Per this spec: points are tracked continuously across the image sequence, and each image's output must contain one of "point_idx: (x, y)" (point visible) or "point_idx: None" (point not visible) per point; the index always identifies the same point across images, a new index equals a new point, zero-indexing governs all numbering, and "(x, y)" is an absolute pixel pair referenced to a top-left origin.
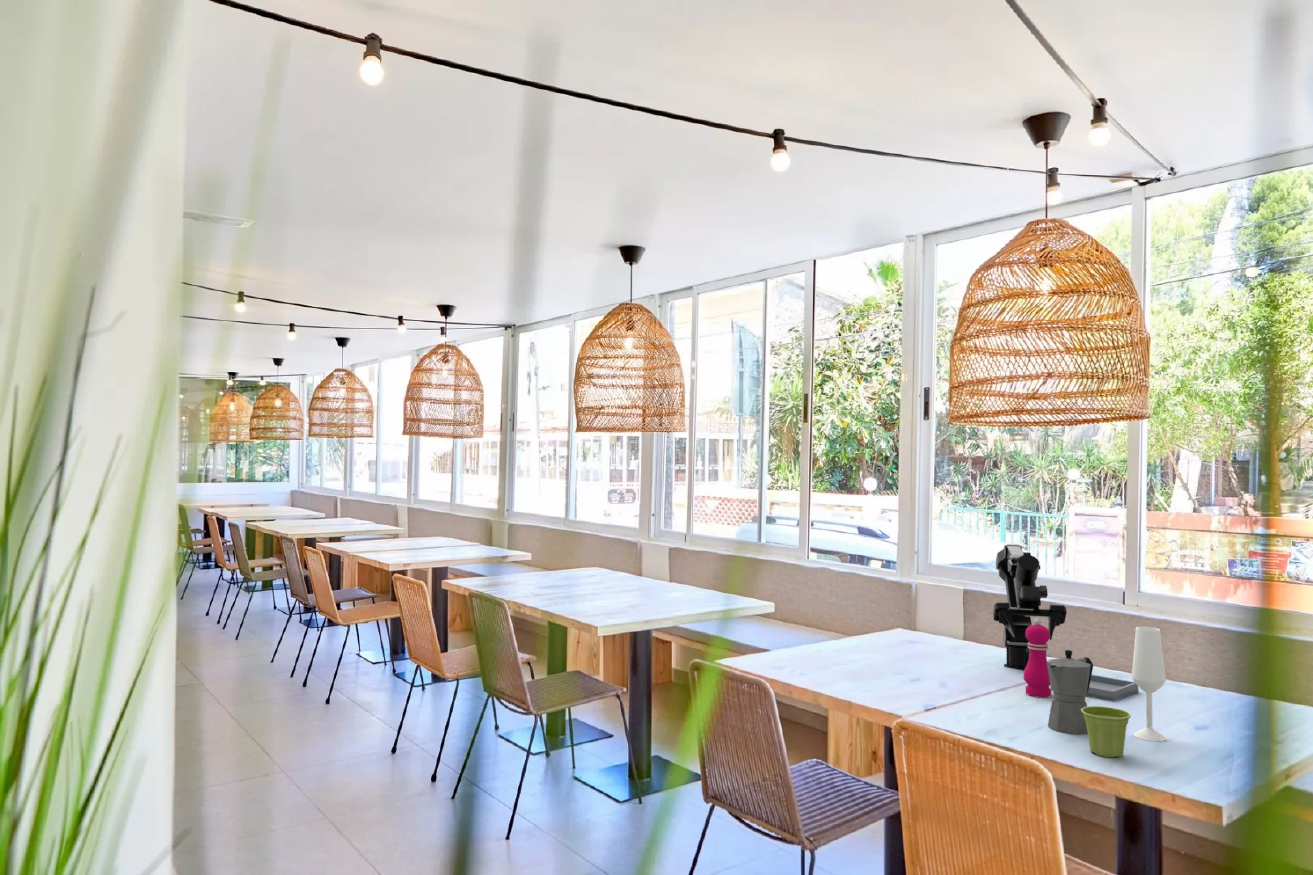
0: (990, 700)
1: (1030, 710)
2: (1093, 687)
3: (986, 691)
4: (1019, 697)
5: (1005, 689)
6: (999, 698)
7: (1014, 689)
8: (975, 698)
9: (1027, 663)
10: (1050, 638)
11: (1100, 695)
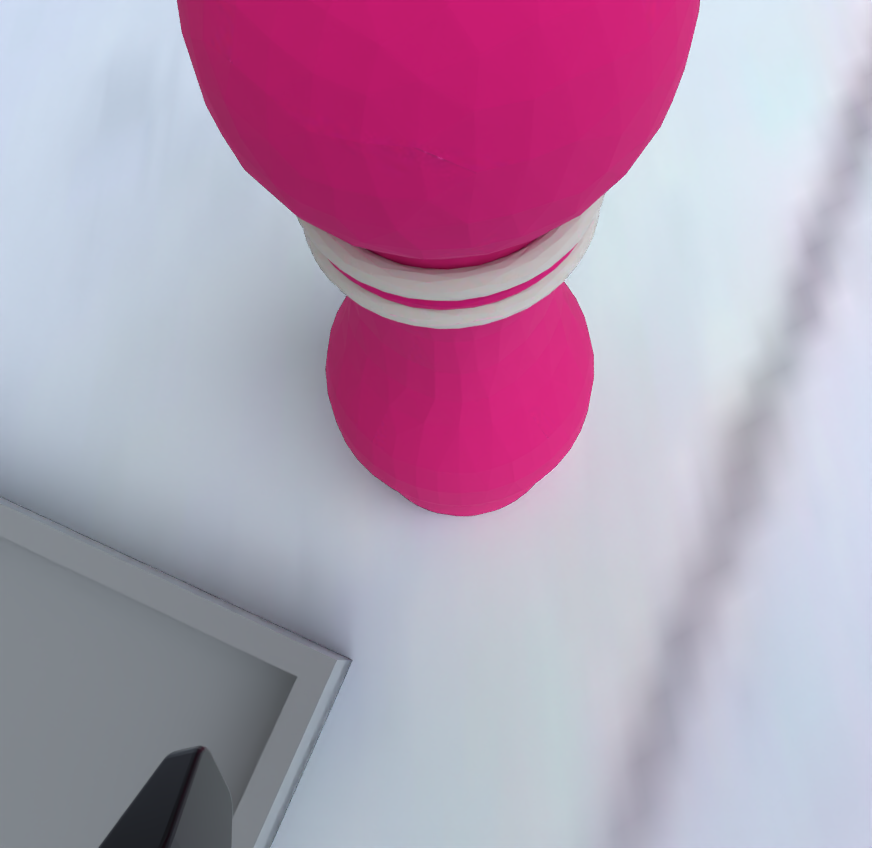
0: (735, 107)
1: None
2: (12, 532)
3: (833, 330)
4: (578, 269)
5: (721, 469)
6: (696, 180)
7: (655, 505)
8: (836, 110)
9: (569, 307)
10: (209, 756)
11: (2, 499)
